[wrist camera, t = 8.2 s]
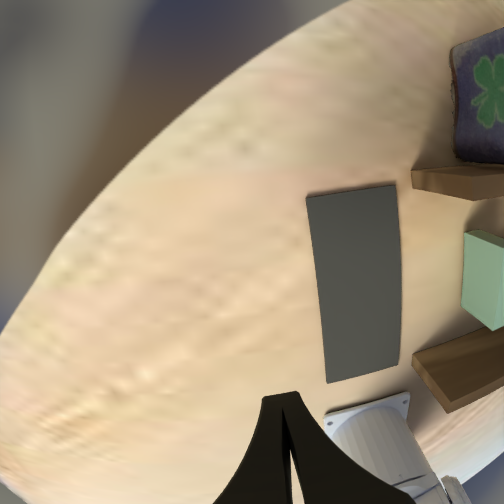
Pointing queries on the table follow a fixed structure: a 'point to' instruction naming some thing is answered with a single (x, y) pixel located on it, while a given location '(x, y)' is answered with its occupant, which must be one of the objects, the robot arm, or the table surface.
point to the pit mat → (357, 279)
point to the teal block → (484, 278)
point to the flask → (479, 99)
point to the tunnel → (478, 342)
